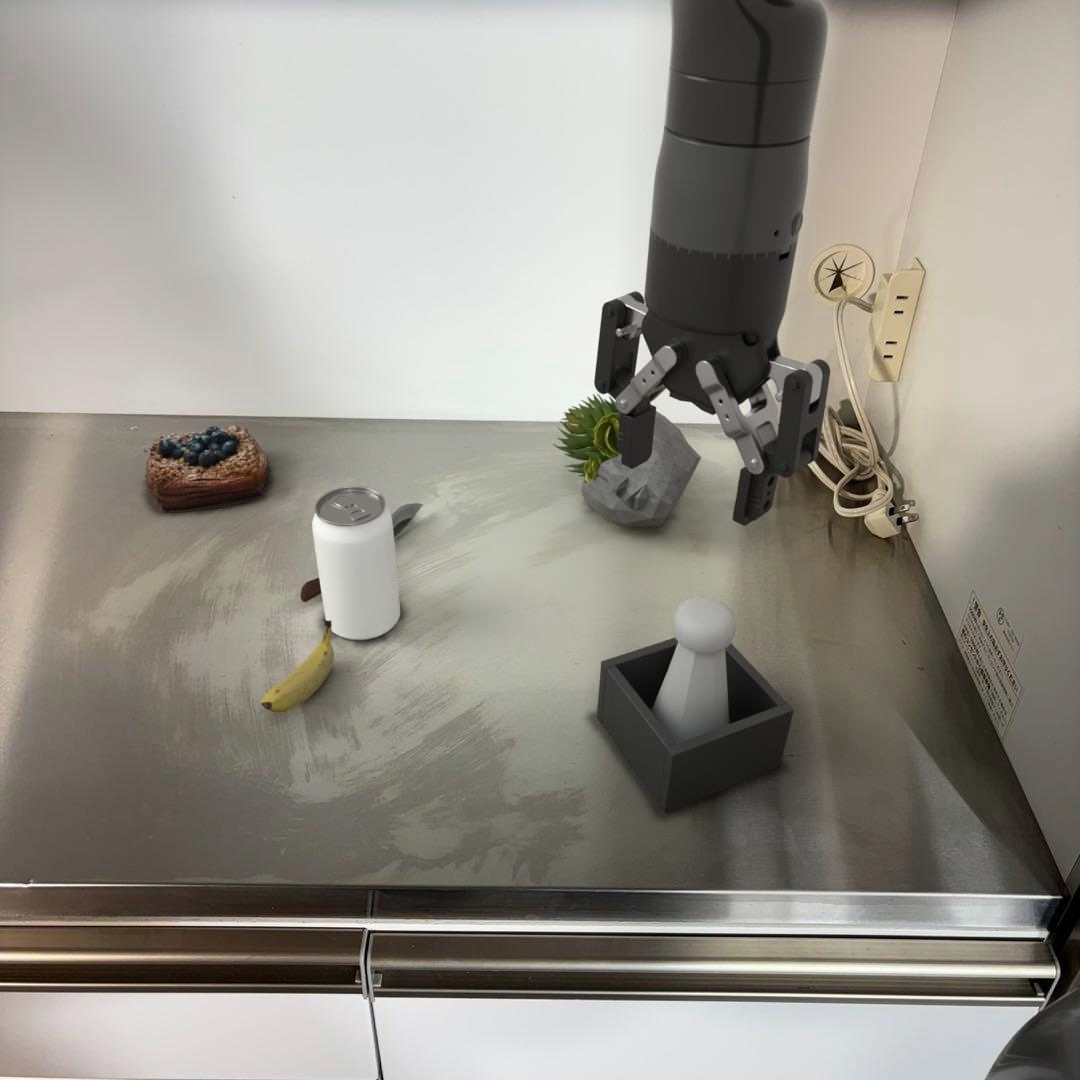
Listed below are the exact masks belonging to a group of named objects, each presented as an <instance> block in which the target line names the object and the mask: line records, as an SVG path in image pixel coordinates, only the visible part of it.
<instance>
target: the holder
mask: <svg viewBox="0 0 1080 1080" xmlns="http://www.w3.org/2000/svg"><path fill="white" fill-rule="evenodd" d="M677 644H678V641H677V640H676V638H675V637H672V638H669V639H665V640H663V641H660V642H656V643H653V644H651V645H650V644H649V645H647V646H645V647H641V648H638V649H635V650H633V651H628V652H626V653H623V654H620V655H617V656H613V657H610V658H607V659H604V660H602V661H600V671H599V682H598V683H599V686H598V697H597V699H598V700H597V712H596V719H597V720H598V721H599V723H600V724H601V725H602V727H603V728H604V729H605V731H606V733H607V734H608V735H609V736H610V738H611V739H612V741H613V742H614V743H615V745H616V746H617V748H618V749H619V751H620V752H621V754H622V755H623V756H624V758H625V759H626V760H627V762H628V764H629V765H630V766H631V767H632V769H633V770H634V772H635V773H636V774H637V776H638V777H639V779H640V780H641V781H642V783H643V785H644V786H645V787H646V789H647V790H648V791H649V793H650V794H651V795H652V797H653V799H654V800H655V801H656V803H657V804H658V805H659V807H660V809H661V810H662V812H663V813H665V814H666V813H668V812H671V811H673V810H675V809H678V808H680V807H683V806H685V805H688V804H691V803H693V802H695V801H698V800H700V799H703V798H706V797H708V796H711V795H713V794H716V793H718V792H721V791H723V790H726V789H728V788H730V787H733V786H735V785H738V784H740V783H742V782H745V781H748V780H751V779H753V778H755V777H758V776H760V775H763V774H766V773H768V772H771V771H773V770H775V769H778V768H780V767H781V765H782V762H783V757H784V753H785V749H786V745H787V740H788V737H789V733H790V730H791V724H792V721H793V716H794V712H795V709H794V708H793V707H792V706H791V704H789V703H788V701H787V700H785V698H784V697H783V696H782V695H781V694H780V693H779V692H778V691H777V690H776V688H774V687H773V686H772V684H771V683H769V682H768V680H767V679H766V678H764V676H763V675H762V674H761V673H760V672H759V671H758V670H757V669H756V668H755V667H754V665H753V664H751V662H750V661H749V660H748V659H747V658H746V657H745V656H744V655H743V654H742V653H741V652H740V651H739V650H738V649H737V647H736V646H735V645H734V644H732V642H731V644H730V645H729V647H727V648H725V656H726V673H727V691H728V709H729V725H726V726H723V727H721V728H718V729H715V730H713V731H710V732H707V733H704V734H702V735H699V736H696V737H694V738H691V739H688V740H686V741H683V742H680V743H678V744H676V743H675V742H674V740H673V739H672V738H671V736H670V735H669V734H668V733H667V731H666V730H665V729H664V727H663V726H662V725H661V724H660V722H659V721H658V720H657V718H656V717H655V716H654V715H653V713H652V712H651V711H652V710H651V709H650V708H653V706H654V704H655V701H656V699H657V696H658V694H659V691H660V689H661V686H662V684H663V681H664V679H665V676H666V674H667V671H668V669H669V666H670V663H671V661H672V658H673V655H674V652H675V650H676V647H677Z"/></svg>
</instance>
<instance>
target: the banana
mask: <svg viewBox="0 0 1080 1080" xmlns="http://www.w3.org/2000/svg"><path fill="white" fill-rule="evenodd" d="M331 621H332V620H330V621H327V620H326V618H323V619H322V622H323V623H324V624H323V625H324V626H326V628H325V632H324V634H323V637H322V639H321V641H320V642H319V643H318V644H317V646H316V647H315V648H314V650H312V652H311V653H310V654H309V656H308V657H307V658H306V659H304V660H303V662H301V664H300V665H298V667H296V668H295V669H294V670H293V671H292V672H291V673H290V674H289V675H288V676H287V677H286V678H285V679H283V680H281V681H280V682H279V683H277V684H276V685H274V686H273V687H272V688H271V689H270V690H268V691H267V692H266V693H265V694H264V695H263V697H262V699H261V701H260V704H261V706H262V707H263V708H264V709H265V710H267V711H270V712H272V713H284V712H287V711H289V710H292V709H293V708H295V707H297V706H299V705H301V704H302V703H303V702H304V701H306V700H308V699H309V698H310V697H311V696H312V695H313V694H314V693H315V692H316V691H317V690H318V689H319V688H320V687H321V686H322V684H323V683H324V682H325V680H326V679H327V677H328V675H329V674H330V672H331V670H332V667H333V663H334V659H335V658H334V656H335V655H334V649H333V645H332V642H331V637H332V636H331V635H332V631H331V626H332V624H331Z"/></svg>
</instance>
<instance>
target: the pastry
mask: <svg viewBox="0 0 1080 1080" xmlns="http://www.w3.org/2000/svg"><path fill="white" fill-rule="evenodd" d="M148 450H149V451H150V452H149V454H148V457H147V460H146V463H145V465H146V466H145V470H146V472H145V473H146V475H145V478H146V483H147V488H148V490H149V492H150V494H151V498H152V501H153V503H154V504H155V506H156V507H157V508H158V509H159V510H160V512H162V513H182V512H191V511H193V512H194V511H199V510H209V509H215V508H222V507H228V506H236V505H240V504H244V503H249V502H251V501H255V500H257V499H259V498H260V497H261V495H263V494H264V492H265V491H266V489H267V488H268V485H269V474H268V471H269V467H268V460H267V456H266V454H265V452H264V451H263V448H262V447H261V445H259V443H258V441H257V440H256V439H255V437H254V436H252V434H251V433H249V431H248V428H247V427H246V426H242V427H241V426H237V425H235V424H233V425H229V426H224V427H223V428H220V427H218V426H215V425H212V426H209V427H207V428H206V430H205V431H191V432H190V433H178V434H177V433H175V432H172V433H171V434H170V433H169V434H161V435H160V437H159V438H158V439H154V441H153V442H152V443H151V445H150V446H149V448H148Z"/></svg>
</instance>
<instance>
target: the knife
mask: <svg viewBox="0 0 1080 1080" xmlns="http://www.w3.org/2000/svg"><path fill="white" fill-rule="evenodd" d="M423 506H424V503H419V502H412V503H405V504H403V505H400V506H399V507H398V508H396V510H395V511H394V512H393V513H392V514H391V517H392V523H393V533H394V538H396V537H397V536H398V535H399V534H400V533H401V532H402V531H403V530H404V529H405V528H406V527H407V525H408V524H409V523H410V522H411V521H412V520H413V519H414V517H415V516H416V515H417V513H418V512H419V511H420V509H421V508H422V507H423ZM319 595H322V593H321V586H320V580H319V577H316V578H314V579H312V580H308V581H306V582H305V583H304V584H303V586H302V587H301V590H300V600H301V601H302V603H307V602H309V601H311V600H312V599H315V598H316V597H318V596H319Z"/></svg>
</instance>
